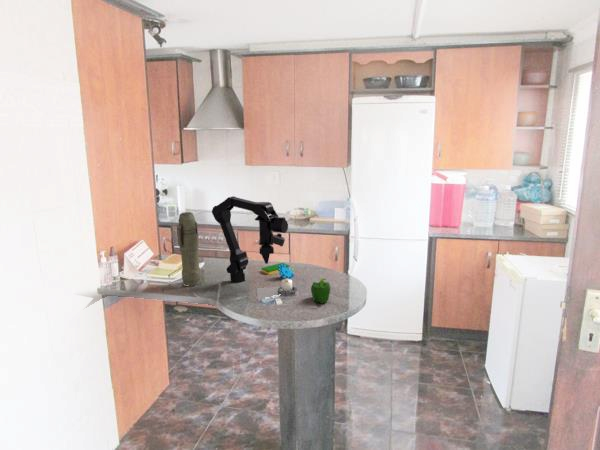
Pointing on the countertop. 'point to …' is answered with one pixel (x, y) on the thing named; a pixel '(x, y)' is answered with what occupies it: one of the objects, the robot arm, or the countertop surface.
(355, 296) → the countertop surface
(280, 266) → the gear
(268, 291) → the hub plate
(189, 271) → the thermos
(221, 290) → the countertop surface
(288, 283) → the knob
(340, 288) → the countertop surface
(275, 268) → the dish sponge
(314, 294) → the bell pepper
